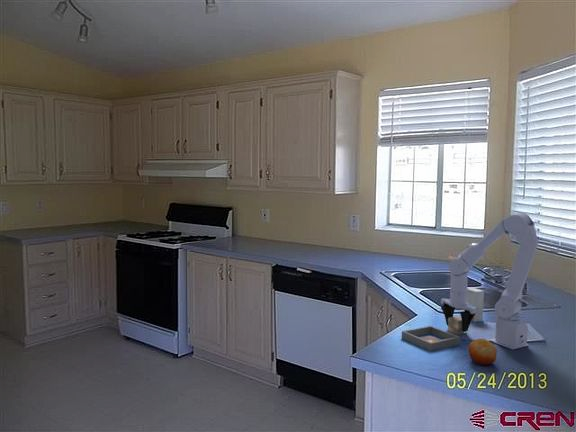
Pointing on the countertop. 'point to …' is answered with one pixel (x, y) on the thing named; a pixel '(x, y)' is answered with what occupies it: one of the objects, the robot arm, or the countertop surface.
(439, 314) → the countertop surface
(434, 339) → the coaster
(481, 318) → the skincare box
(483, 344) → the fruit
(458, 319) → the birch block
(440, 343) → the low pen
